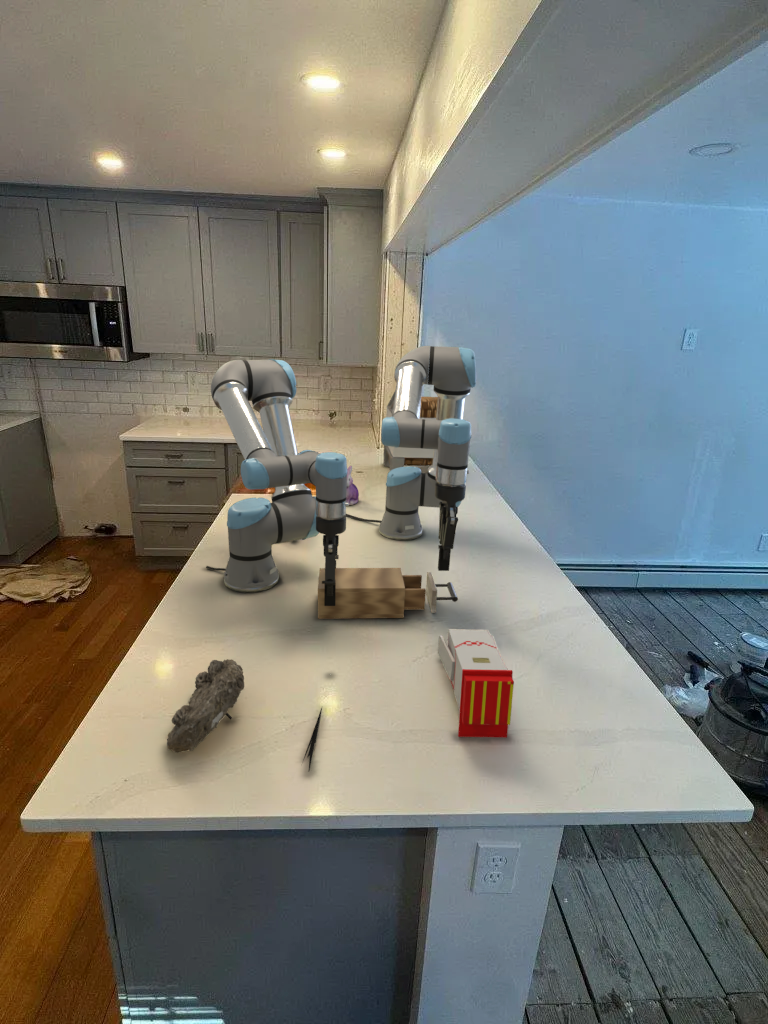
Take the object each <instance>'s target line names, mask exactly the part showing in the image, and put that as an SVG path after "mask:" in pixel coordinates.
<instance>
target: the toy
mask: <svg viewBox="0 0 768 1024" xmlns="http://www.w3.org/2000/svg"><path fill="white" fill-rule="evenodd" d="M446 640H447V643H446V641H445V639H444V636H443V635H442V634H439V637H438V646H437V656H438V657H439V659H440V661H441V663H442V666H443V668H444V670H445V672H446V674H447V677H448V679H449V681H450V684H451V687H452V690H453V693H454V697H455V701H456V705H457V708H458V711H459V714H458V715H459V716H458V730H457V731H458V732H457V737H458V738H508V731H509V726H510V725H511V717H512V707H513V697H514V696H513V695H514V684H515V680H514V679H513V673H514V671H513V670H512V669H508V667H507V665H506V662H505V661H504V659H503V658H502V655H501V653H500V651H499V649H498V647H497V643H496V639H495V637H494V635H493V634H491V632H490V631H489V629H467V628H466V629H465V628H463V629H461V628H460V629H459V628H448V630H447V639H446Z"/></svg>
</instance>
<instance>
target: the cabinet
mask: <svg viewBox="0 0 768 1024" xmlns="http://www.w3.org/2000/svg"><path fill="white" fill-rule="evenodd" d="M318 573H319V574H318V581H317V619H319V620H324V619H325V620H328V619H329V620H330V619H333V620H335V619H336V620H337V619H404V618H405V610H404V599H405V586H404V581H403V577H402V575H403V572H402V568H401V567H336V568H335V580H336V592H335V606H324V602H325V584H322V581H325V567H320V568H319V571H318Z"/></svg>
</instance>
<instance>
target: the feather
mask: <svg viewBox="0 0 768 1024" xmlns="http://www.w3.org/2000/svg"><path fill="white" fill-rule="evenodd" d="M329 675H330V676H331V675H332V674H331V673H330V674H329ZM322 710H323V707H321V708H320V710H319V713H318V716H317V719H316V723H315V725H314V728H313V731H312V733H311V737H310V739H309V742H308V745H307V748H306V751H305V754H304V757H303V760H302V763H301V767H302V765H303V763H304V761H305V758H308V759H309V760H308V762H307V763H308V764H307V766H308V771H310V770H311V766H312V765H311V764H312V760H313V757H315V756H314V755H315V751H316V749H315V746H317V739H318V733H319V729H320V722H321V717H322V712H323V711H322ZM313 754H314V755H313ZM306 755H307V757H306Z"/></svg>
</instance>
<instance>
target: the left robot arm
mask: <svg viewBox="0 0 768 1024" xmlns="http://www.w3.org/2000/svg"><path fill="white" fill-rule="evenodd" d="M210 394H211V399H212V401H213V402H214V405H215V406H216V407H217V408H218V410H219V411H222V413H223V416H224V418H225V420H226V422H227V425H228V427H229V429H230V431H231V434H232V436H233V438H234V440H235V442H236V444H237V447H238V449H239V452H240V453H241V456H242V458H243V460H242V462H241V464H240V477H241V481H242V484H243V486H244V487H245V489H247V490H267V489H274V492H273V493H274V494H273V493H272V494H273V495H272V496H271V501H270V500H269V499H268V498H265V497H248V498H244V499H241V500H238V501H236V502H234V503H233V504H232V505H231V506H230V507H229V508H228V509H227V517H226V518H227V521H226V527H227V539H228V554H229V555H228V557H229V558H228V560H227V563H226V566H225V568H224V567H213V566H209V565H206V566H205V568H206V569H208V570H212V571H217V572H218V571H219V572H223V571H224V574H223V583H224V586H225V587H226V588H228V589H229V590H232V591H234V592H239V593H257V592H262V591H266V590H268V589H271V588H273V587H274V586H276V585H277V584H278V582H279V580H280V574H279V569H278V566H277V565H276V562H275V559H274V557H273V547H272V546H273V545H276V544H283V543H288V542H295V541H300V540H301V541H303V540H306V539H310V538H311V539H312V538H314V537H316V536H318V535H319V534H321V535H322V546H323V556H324V557H325V558H324V568H325V581H322V584H325V602H324V606H335V592H336V580H335V568H337V560H339V554H338V547H339V545H340V544H339V541H340V535H341V534H343V533H345V531H346V530H347V516H345V515H346V514H347V508H348V507H349V506H350V505H349V504H348V503H346V493H347V472H348V470H347V469H348V462H347V461H348V460H347V457H346V456H345V454H344V453H340V452H339V453H338V452H333V451H326V452H321V453H319V452H318V451H315V450H312V449H304V450H301V451H298V447H297V442H296V437H295V432H294V427H293V423H292V422H293V421H292V417H291V413H290V412H291V411H290V407H291V405H292V404H293V399H294V398H295V397H296V394H297V380H296V375H295V372H294V370H293V368H292V366H291V365H290V364H289V363H288V362H286V361H285V360H282V359H274V358H269V359H233V360H229V361H228V362H226V363H223V364H222V365H221V366H220V367H219V368H218V369H217V370H216V372H215V373H214V374H213V377H212V379H211V383H210ZM250 402H251V403H252V406H251V403H250ZM254 410H255V411H256V412H257V413H259V417H260V421H261V424H260V421H259V420H258V418H257V416H256V413H255V411H254ZM305 484H311V485H313V486H315V496H313V493H312V489H310V488H309V487H308V486H306V485H305Z"/></svg>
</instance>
